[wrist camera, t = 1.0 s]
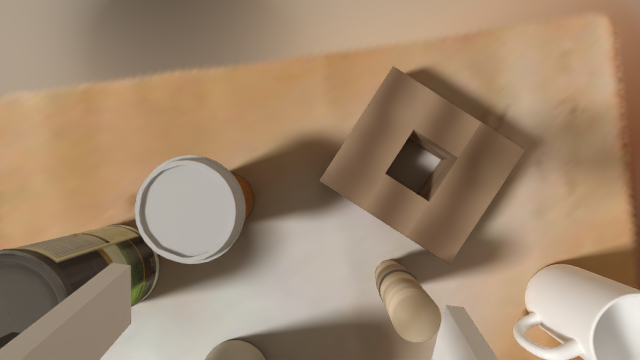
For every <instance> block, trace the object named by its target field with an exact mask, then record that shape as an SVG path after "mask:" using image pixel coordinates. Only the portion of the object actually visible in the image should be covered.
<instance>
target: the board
mask: <svg viewBox="0 0 640 360" xmlns="http://www.w3.org/2000/svg"><path fill="white" fill-rule="evenodd" d="M407 139H410V140H411V141H413V142H414V143H416V144H417V145H419V146H421V147H422V148H424V149H425V150H427V151H428V152H430V153H432V154H433V155H435V156H436V157H438V158H439V159H441V161H440V162H439V164H438V165H437V167H436V169H435V170H434V172H433V173H432V175H431V176H430V178H429V179H428V181H427V182H426V184H425V185H424V187H423V188H422V190H421V191H420V193H419V194H416V193H414V192H413V191H411V190H410V189H408V188H407V187H405V186H404V185H402V184H400V183H399V182H397V181H396V180H394V179H393V178H391V177H390V176H388V175H386V174H385V173H386V171H387V170H388V168H389V167H390V165H391V164H392V162H393V160H394V159H395V157H396V156H397V154H398V153H399V151H400V150H401V148H402V147H403V145H404V144H405V142H406V140H407ZM524 151H525V150H524V149H522V148H521V147H519V146H518V145H516V144H514V143H513V142H511V141H510V140H508V139H507V138H505V137H503V136H502V135H500V134H499V133H497V132H496V131H494V130H493V129H491V128H489V127H488V126H486V125H485V124H483V123H482V122H480V121H478V120H477V119H475V118H474V117H472V116H471V115H469V114H467V113H466V112H464V111H463V110H461V109H460V108H458V107H456V106H455V105H453V104H452V103H450V102H449V101H447V100H446V99H444V98H442V97H441V96H439V95H438V94H436V93H435V92H433V91H431V90H430V89H428V88H427V87H425V86H424V85H422V84H420V83H419V82H417V81H416V80H414V79H413V78H411V77H409V76H408V75H406V74H405V73H403V72H402V71H400V70H399V69H397V68H395V67H394V66H393V67H392V69H391V70H390V72H389V73H388V75H387V76H386V78H385V79H384V81H383V83H382V84H381V86H380V87H379V89H378V90H377V92H376V93H375V95H374V97H373V98H372V100H371V101H370V103H369V104H368V106H367V107H366V109H365V111H364V112H363V114H362V115H361V117H360V118H359V120H358V121H357V123H356V125H355V126H354V128H353V129H352V131H351V132H350V134H349V135H348V137H347V139H346V140H345V142H344V143H343V145H342V146H341V148H340V150H339V151H338V153H337V154H336V156H335V157H334V159H333V160H332V162H331V164H330V165H329V167H328V168H327V170H326V171H325V173H324V174H323V176H322V178H321V179H320V182H322V183H323V184H325V185H327V186H328V187H330V188H331V189H333V190H334V191H336V192H337V193H339V194H341V195H342V196H344V197H345V198H347V199H348V200H350V201H351V202H353V203H355V204H356V205H358V206H359V207H361V208H362V209H364V210H365V211H367V212H369V213H370V214H372V215H373V216H375V217H376V218H378V219H379V220H381V221H383V222H384V223H386V224H387V225H389V226H390V227H392V228H393V229H395V230H397V231H398V232H400V233H401V234H403V235H404V236H406V237H407V238H409V239H411V240H412V241H414V242H415V243H417V244H418V245H420V246H421V247H423V248H425V249H426V250H428V251H429V252H431V253H432V254H434V255H435V256H437V257H439V258H440V259H442V260H443V261H445V262H446V263H448V264H450V263H451V261H452V260H453V258H454V257H455V255H456V254H457V252H458V251H459V249H460V248H461V246H462V245H463V243H464V242H465V240H466V239H467V237H468V236H469V234H470V233H471V231H472V230H473V228H474V227H475V225H476V224H477V222H478V221H479V219H480V218H481V216H482V215H483V213H484V212H485V210H486V209H487V207H488V206H489V204H490V203H491V201H492V200H493V198H494V197H495V195H496V193H497V192H498V190H499V189H500V187H501V186H502V184H503V183H504V181H505V180H506V178H507V177H508V175H509V174H510V172H511V171H512V169H513V168H514V166H515V165H516V163H517V162H518V160H519V159H520V157H521V156H522V154H523V153H524Z"/></svg>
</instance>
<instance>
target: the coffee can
mask: <svg viewBox="0 0 640 360" xmlns="http://www.w3.org/2000/svg"><path fill="white" fill-rule="evenodd" d="M111 263H116V264H124V265H131V307H132V306H134V305H135V304H138V303H139V302H141V301H142V300H144V299H145V298H146V297H147V296H148V295H149V294H150V293H151V292H152V290H153V288H154V287H155V285H156V282H157V279H158V276H159V267H160V266H159V258H158V254H157V253H156V252H155V251H154V250H153V249H151V248H150V247H149V245H148V244H147V243H146V242H145V241H144V239H143V238H142V236H141V235H140V232H139V230H137V229H135V228H133V227H130V226H126V225H108V226H105V227H102V228H99V229H95V230H90V231H86V232H82V233H78V234H73V235H69V236H64V237H60V238H56V239H52V240H47V241H43V242H38V243H34V244H30V245H25V246H21V247H17V248H13V249H3V250H0V338H1V337H3V336H5V335H7V334H9V333H11V332H17V333H22V332H23V331H24V330H26V329H27V328H28V327H30V326H31V325H32V324H34V323H35V322H36V321H37V320H39V319H40V318H41V317H43V316H44V315H45V314H46V313H48V312H49V311H50V310H52V309H53V308H54V307H56V306H57V305H58V304H59V303H61V302H62V301H63V300H65V299H66V298H67V297H69V296H70V295H71V294H72V293H74V292H75V291H76V290H78V289H79V288H80V287H82V286H83V285H84V284H85V283H87V282H88V281H89V280H91V279H92V278H93V277H95V276H96V275H97V274H98V273H100V272H101V271H102V270H104V269H105V268H106V267H108V266H109V265H110V264H111Z"/></svg>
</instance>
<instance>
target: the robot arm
mask: <svg viewBox="0 0 640 360" xmlns="http://www.w3.org/2000/svg"><path fill="white" fill-rule="evenodd" d="M130 324H131V265H124V264H116V263H111V264H110V265H109V266H108V267H106V268H105V269H104V270H102V271H101V272H100V273H98V274H97V275H96V276H95V277H93V278H92V279H91V280H89V281H88V282H87V283H85V284H84V285H83V286H82V287H80V288H79V289H78V290H76V291H75V292H74V293H72V294H71V295H70V296H69V297H67V298H66V299H65V300H63V301H62V302H61V303H59V304H58V305H57V306H56V307H54V308H53V309H52V310H50V311H49V312H48V313H46V314H45V315H44V316H43V317H41V318H40V319H39V320H37V321H36V322H35V323H34V324H32V325H31V326H30V327H28V328H27V329H26V330H24V331H23V332H22V333H17V332H11V333H9V334H7V335H5V336H3V337H1V338H0V360H100V358H101V357H102V356H103V355H104V354H105V353H106V351H107V350H108V349H109V348H110V347H111V346H112V345H113V343H114V342H115V341H116V340H117V339H118V338H119V336H120V335H121V334H122V333H123V332H124V331H125V330H126V328H127V327H128V326H129V325H130ZM432 360H498V358H497V357H496V355H495V354H494V352H493V351H492V349H491V348H490V346H489V345H488V343H487V342H486V340H485V339H484V337H483V336H482V334H481V333H480V331H479V330H478V328H477V327H476V325H475V324H474V322H473V321H472V319H471V318H470V316H469V315H468V313H467V312H466V310H465V309H464V307H457V306H449V305H445V309H444V313H443V317H442V321H441V325H440V329H439V333H438V337H437V341H436V345H435V349H434V353H433V356H432Z"/></svg>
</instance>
